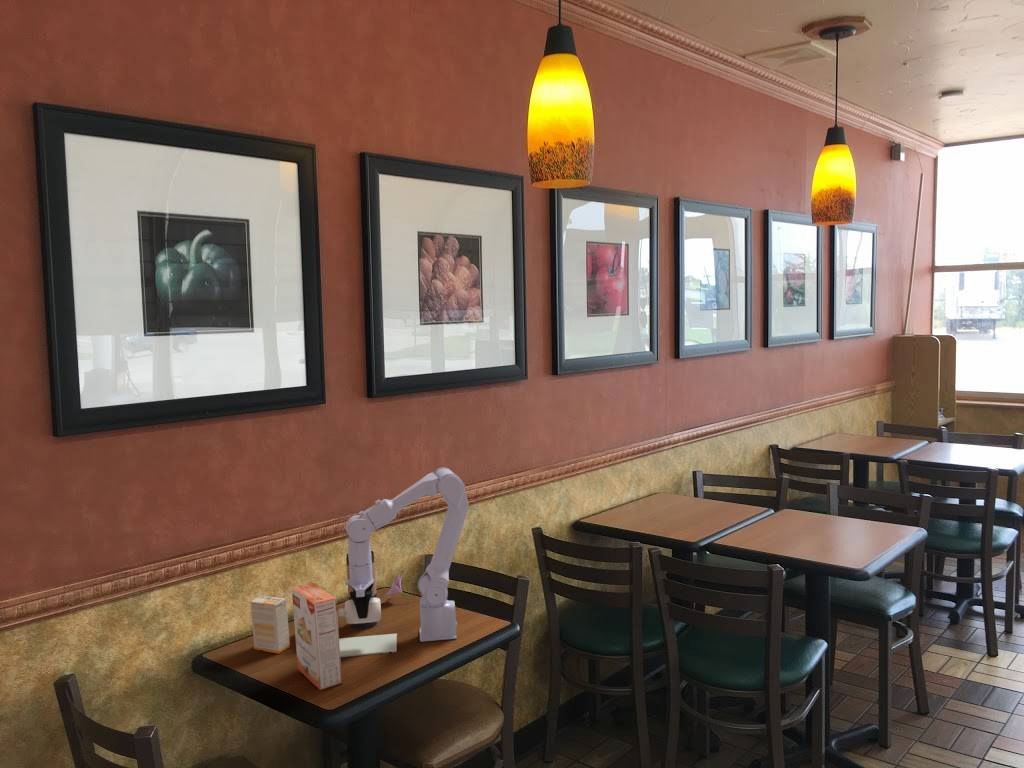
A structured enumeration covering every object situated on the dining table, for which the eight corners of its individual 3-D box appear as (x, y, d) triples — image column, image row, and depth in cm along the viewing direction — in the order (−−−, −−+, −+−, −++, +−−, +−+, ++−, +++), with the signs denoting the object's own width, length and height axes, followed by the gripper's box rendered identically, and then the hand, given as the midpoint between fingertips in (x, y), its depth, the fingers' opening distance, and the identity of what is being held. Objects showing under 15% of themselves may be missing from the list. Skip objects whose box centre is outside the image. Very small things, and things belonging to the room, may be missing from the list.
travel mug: (384, 621, 229) (380, 551, 227) (365, 631, 223) (360, 559, 220) (363, 617, 233) (359, 547, 231) (344, 626, 227) (339, 555, 225)
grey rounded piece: (381, 615, 215) (380, 596, 214) (381, 621, 211) (380, 602, 210) (340, 619, 214) (338, 600, 213) (338, 625, 210) (337, 606, 209)
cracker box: (296, 671, 200) (290, 587, 198) (319, 663, 204) (314, 581, 202) (318, 692, 189) (312, 603, 187) (343, 684, 192) (337, 597, 190)
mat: (396, 634, 220) (396, 633, 219) (396, 652, 209) (396, 650, 209) (335, 640, 218) (335, 638, 217) (331, 658, 207) (331, 656, 207)
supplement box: (291, 647, 215) (287, 598, 213) (278, 654, 210) (274, 604, 209) (266, 642, 218) (262, 594, 217) (253, 649, 214) (249, 600, 212)
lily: (408, 595, 252) (391, 569, 252) (430, 588, 244) (412, 561, 243) (381, 619, 244) (364, 592, 243) (403, 613, 235) (385, 585, 235)
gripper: (346, 555, 218) (349, 605, 219) (342, 573, 203) (345, 626, 205) (373, 553, 218) (376, 603, 220) (371, 571, 204) (374, 624, 205)
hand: (363, 614), depth 212 cm, fingers closed on grey rounded piece, 4 cm apart
